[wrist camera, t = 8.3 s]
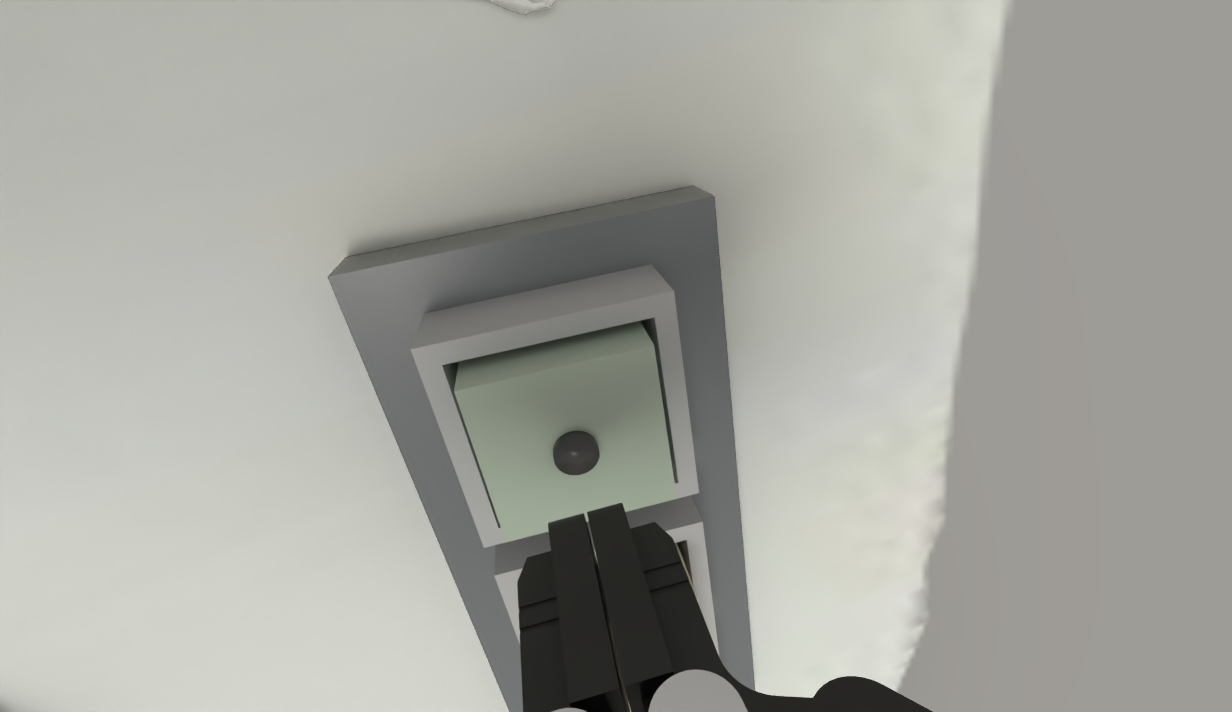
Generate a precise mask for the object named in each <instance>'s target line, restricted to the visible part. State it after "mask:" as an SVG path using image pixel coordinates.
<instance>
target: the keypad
mask: <svg viewBox="0 0 1232 712" xmlns="http://www.w3.org/2000/svg"><path fill="white" fill-rule="evenodd" d="M328 279H329V282H330V284H331V286H332V289H333V291H334V293H335V296H336V298H337V301H338V303H339V305H340V308H341V310H342V313H343V315H344V317H345V320H346V322H347V325H348V327H349V329H350V332H351V334H352V336H353V339H354V341H355V344H356V346H357V348H358V351H359V353H360V356H361V358H362V360H363V363H364V365H365V368H366V370H367V372H368V375H369V377H370V380H371V382H372V384H373V387H374V389H375V391H376V394H377V396H378V399H379V401H380V403H381V406H382V408H383V411H384V413H385V415H386V418H387V420H388V423H389V425H390V427H391V430H392V432H393V434H394V437H395V439H396V442H397V444H398V446H399V449H400V451H401V454H402V456H403V458H404V461H405V463H406V466H407V468H408V470H409V473H410V475H411V478H412V480H413V482H414V485H415V487H416V489H417V492H418V494H419V497H420V499H421V501H422V504H423V506H424V509H425V511H426V513H427V516H428V518H429V521H430V523H431V525H432V528H433V530H434V532H435V535H436V537H437V540H438V542H439V544H440V547H441V549H442V552H443V554H444V556H445V559H446V561H447V564H448V566H449V568H450V571H451V573H452V576H453V578H454V580H455V583H456V585H457V587H458V590H459V592H460V595H461V597H462V599H463V602H464V604H465V607H466V609H467V611H468V614H469V616H470V619H471V621H472V623H473V626H474V628H475V630H476V633H477V635H478V638H479V640H480V642H481V645H482V647H483V650H484V652H485V654H486V657H487V659H488V662H489V664H490V666H491V669H492V671H493V674H494V676H495V678H496V681H497V683H498V685H499V688H500V690H501V693H502V695H503V697H504V700H505V702H506V705H507V707H508V709H509V712H523V697H522V676H521V654H520V629H519V608H518V588H517V581H518V579H519V576H520V574H521V571H522V569H523V566H524V564H525V561H526V559H527V557H530V556H534V555H538V554H541V553H545V552H548V551H551V547H550V539H549V532H545V533H541V534H537V535H533V536H529V537H525V538H522V539H518V540H514V541H510V542H506V541H505V538H504V535H503V532H502V530H501V527H500V524H499V521H498V518H497V515H496V512H495V509H494V506H493V503H492V500H491V498H490V495H489V492H488V489H487V486H486V483H485V480H484V477H483V474H482V471H481V469H480V466H479V463H478V460H477V457H476V454H475V451H474V448H473V445H472V442H471V439H470V437H469V434H468V431H467V428H466V425H465V422H464V419H463V416H462V413H461V410H460V407H459V405H458V402H457V399H456V396H455V393H454V388H455V382H456V376H457V370H458V364H459V361H463V360H467V359H472V358H476V357H480V356H485V355H489V354H494V353H498V352H503V351H507V350H512V349H516V348H520V347H525V346H529V345H534V344H538V343H543V342H547V341H551V340H556V339H560V338H565V337H569V336H574V335H578V334H583V333H587V332H591V331H596V330H600V329H605V328H609V327H614V326H618V325H622V324H627V323H631V322H636V321H640V322H641V324H642V325H643V327H644V329H645V330H646V332H647V334H648V336H649V337H650V339H651V341H652V342H653V344H654V347H655V354H656V361H657V367H658V374H659V381H660V388H661V394H662V401H663V408H664V415H665V421H666V428H667V435H668V442H669V448H670V455H671V462H672V469H673V475H674V482H675V489H676V496H677V499H674V500H670V501H666V502H663V503H659V504H655V505H651V506H647V507H643V508H639V509H635V510H631V511H627V512H625V513H626V516H627V520H628V523H629V526H630V529H631V528H634V527H638V526H642V525H645V524H649V523H652V522H656V523H657V524H658V525H659V526H660V527H661V528H662V529H663V530H664V531H665V532H667V533H668V534H669V535H670V536H671V537H672V538H673V540H674V543H677V545H678V547H679V550H680V553H681V555H682V558H683V561H684V563H685V566H686V569H687V571H688V574H689V576H690V579H691V582H692V584H693V587H694V590H695V592H696V595H697V598H698V604H699V607H700V609H701V612H702V614H703V617H704V619H705V622H706V625H707V627H708V630H709V632H710V635H711V637H712V640H713V642H714V645H715V648H716V650H717V653H718V655H719V657H720V660H721V662H722V664H723V665H724V667H725V668H726V669H727V671H728V672H729V673H730V674H731V675H732V676H733V677H734V678H735V679H736V680H737V681H738V682H740V683H741V684H743V685H744V686H746V687H748V688H749V689H752V690H754V691H755V682H754V670H753V658H752V646H751V634H750V622H749V610H748V598H747V585H746V573H745V561H744V549H743V537H742V525H741V513H740V501H739V488H738V476H737V464H736V452H735V440H734V428H733V416H732V404H731V391H730V379H729V367H728V355H727V343H726V331H725V319H724V307H723V294H722V282H721V270H720V258H719V246H718V234H717V222H716V209H715V197H714V196H713V195H711V194H709V193H707V192H705V191H703V190H701V189H699V188H697V187H695V186H690V187H685V188H680V189H675V190H670V191H666V192H661V193H656V194H651V195H646V196H641V197H636V198H632V199H627V200H622V201H617V202H612V203H607V204H602V205H598V206H593V207H588V208H583V209H578V210H573V211H568V212H563V213H559V214H554V215H549V216H544V217H539V218H534V219H529V220H525V221H520V222H515V223H510V224H505V225H500V226H495V227H491V228H486V229H481V230H476V231H471V232H466V233H461V234H457V235H452V236H447V237H442V238H437V239H432V240H427V241H422V242H418V243H413V244H408V245H403V246H398V247H393V248H388V249H384V250H379V251H374V252H369V253H364V254H359V255H354V256H350V257H346V258H345V259H344V260H343V261H342V262H341V263H340V264H339V265H338V266H337V267H336V268H335V269H334V270H333V272H332V273H331V274H330V275H329V276H328ZM587 526H588V529H589V533H590V537H591V541H592V544H593V548H594V543H593V538H592V534H591V529H590V524H589V521H588V522H587ZM594 552H595V548H594ZM595 556H596V552H595ZM596 559H597V557H596ZM597 563H598V562H597Z"/></svg>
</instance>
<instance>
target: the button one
mask: <svg viewBox="0 0 1232 712" xmlns="http://www.w3.org/2000/svg"><path fill="white" fill-rule="evenodd" d="M454 393H455V396H456V399H457V402H458V405H459V407H460V410H461V413H462V416H463V419H464V422H465V425H466V428H467V431H468V434H469V437H470V439H471V442H472V445H473V448H474V451H475V454H476V457H477V460H478V463H479V466H480V469H481V471H482V474H483V477H484V480H485V483H486V486H487V489H488V492H489V495H490V498H491V500H492V503H493V506H494V509H495V512H496V515H497V518H498V521H499V524H500V527H501V530H502V532H503V535H504V538H505V541H506V542H510V541H514V540H518V539H522V538H525V537H529V536H533V535H537V534H541V533H545V532H549V530H548V523H549V522H553V521H556V520H560V519H564V518H567V517H571V516H575V515H578V514H582V513H584V515H585V518H586V522H588V521H589V520H588V515H587V512H589V511H592V510H596V509H600V508H603V507H607V506H611V505H614V504H618V503H622V504H623V507H624V510H625V512H627V511H631V510H635V509H639V508H643V507H647V506H651V505H655V504H659V503H663V502H666V501H670V500H674V499H677V496H676V489H675V482H674V475H673V469H672V462H671V455H670V448H669V442H668V435H667V428H666V421H665V415H664V408H663V401H662V394H661V388H660V381H659V374H658V367H657V361H656V354H655V347H654V344H653V342H652V341H651V339H650V337H649V336H648V334H647V332H646V330H645V329H644V327H643V325H642V324H641V322H640V321H636V322H631V323H627V324H622V325H618V326H614V327H609V328H605V329H600V330H596V331H591V332H587V333H583V334H578V335H574V336H569V337H565V338H560V339H556V340H551V341H547V342H543V343H538V344H534V345H529V346H525V347H520V348H516V349H512V350H507V351H503V352H498V353H494V354H489V355H485V356H480V357H476V358H472V359H467V360H463V361H459V364H458V370H457V376H456V382H455V388H454Z"/></svg>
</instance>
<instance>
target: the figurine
mask: <svg viewBox="0 0 1232 712" xmlns="http://www.w3.org/2000/svg"><path fill="white" fill-rule="evenodd" d="M490 1H492V2H493V3H495V4H497V5H499V6H501V7H503V8H505V9H508V10H511V11H514V12H517V13H521V14H524V15H525V14H527V13H529V12H531V11H534V10H541V9H550V8H551V4H553V0H490Z"/></svg>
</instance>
